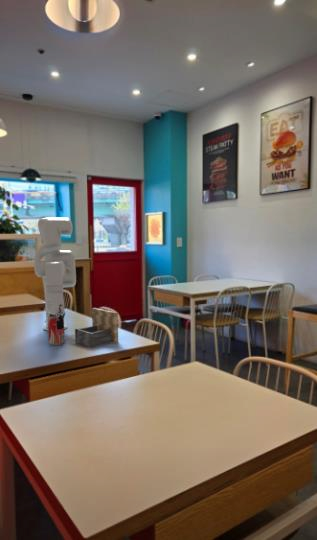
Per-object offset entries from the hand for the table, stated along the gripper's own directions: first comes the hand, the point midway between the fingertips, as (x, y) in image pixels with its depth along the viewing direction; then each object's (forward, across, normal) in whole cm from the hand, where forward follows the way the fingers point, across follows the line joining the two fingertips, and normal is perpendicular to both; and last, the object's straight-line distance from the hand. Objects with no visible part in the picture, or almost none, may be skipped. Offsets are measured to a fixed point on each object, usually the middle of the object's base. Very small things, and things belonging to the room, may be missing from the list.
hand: (56, 327), depth 174 cm
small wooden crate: (+8, +10, +15) cm, 19 cm away
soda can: (+8, 0, 0) cm, 8 cm away
